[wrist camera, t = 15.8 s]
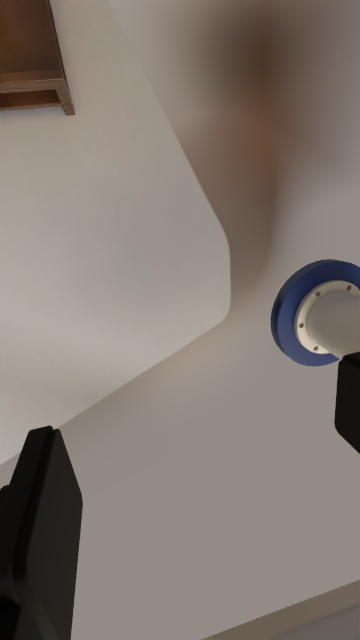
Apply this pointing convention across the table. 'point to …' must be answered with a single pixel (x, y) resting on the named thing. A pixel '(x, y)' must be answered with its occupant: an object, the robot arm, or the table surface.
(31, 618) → the robot arm
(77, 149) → the table surface
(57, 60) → the tray
